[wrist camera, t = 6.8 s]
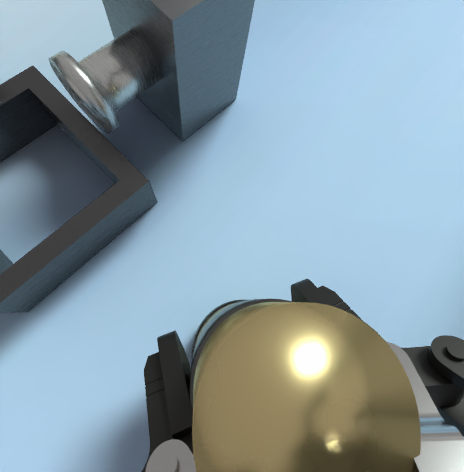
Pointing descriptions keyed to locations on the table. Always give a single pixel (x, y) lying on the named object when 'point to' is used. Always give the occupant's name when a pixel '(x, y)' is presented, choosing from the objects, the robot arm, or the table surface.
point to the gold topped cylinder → (298, 392)
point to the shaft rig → (103, 115)
